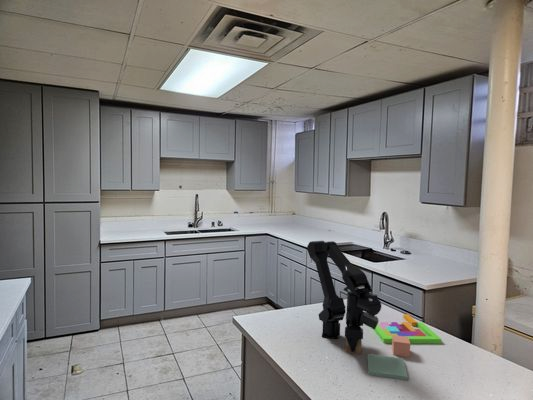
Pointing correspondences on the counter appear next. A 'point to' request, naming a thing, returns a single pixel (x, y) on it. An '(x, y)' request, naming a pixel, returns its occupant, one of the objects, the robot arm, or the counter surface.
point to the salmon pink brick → (400, 345)
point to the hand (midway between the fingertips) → (353, 346)
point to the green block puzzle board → (406, 331)
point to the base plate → (386, 366)
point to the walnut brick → (358, 347)
